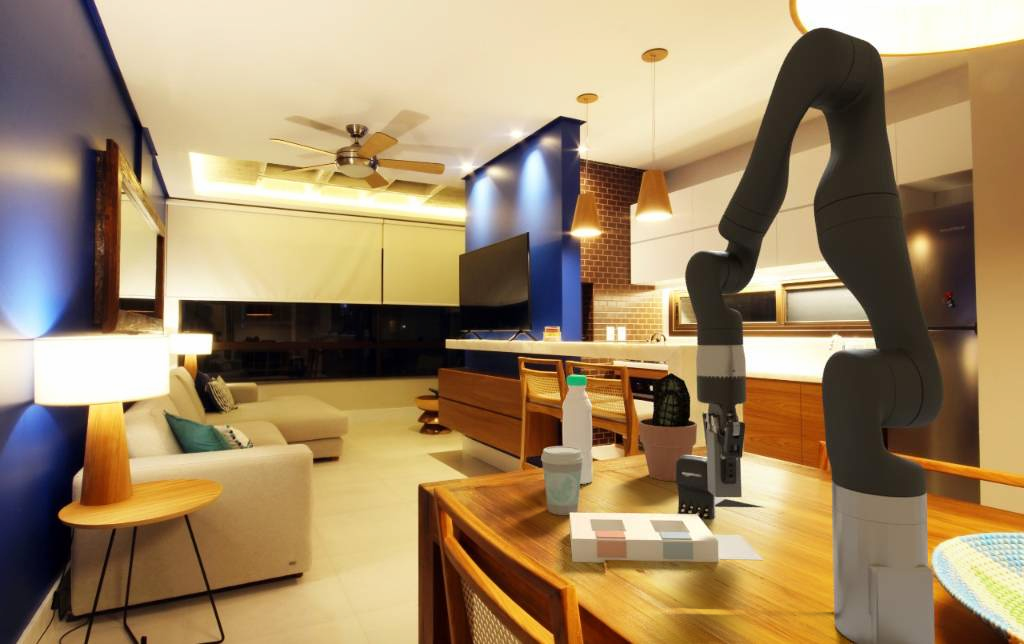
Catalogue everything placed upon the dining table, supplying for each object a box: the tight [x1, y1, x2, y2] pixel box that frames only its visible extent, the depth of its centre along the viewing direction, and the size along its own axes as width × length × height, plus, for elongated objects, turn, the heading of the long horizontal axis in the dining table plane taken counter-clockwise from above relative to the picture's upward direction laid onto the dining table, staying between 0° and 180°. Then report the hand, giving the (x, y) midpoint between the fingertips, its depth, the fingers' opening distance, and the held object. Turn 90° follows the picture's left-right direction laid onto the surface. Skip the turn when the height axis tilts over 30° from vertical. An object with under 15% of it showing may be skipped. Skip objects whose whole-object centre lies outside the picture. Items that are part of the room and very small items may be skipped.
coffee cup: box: [540, 445, 584, 516], centre depth 108 cm, size 9×8×12 cm
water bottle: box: [561, 374, 594, 485], centre depth 129 cm, size 7×7×25 cm
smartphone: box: [715, 497, 768, 509], centre depth 106 cm, size 7×15×1 cm, turn 46°
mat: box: [713, 534, 764, 561], centre depth 88 cm, size 10×8×1 cm
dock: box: [569, 512, 720, 564], centre depth 89 cm, size 12×22×4 cm, turn 86°
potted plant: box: [638, 372, 698, 482], centre depth 132 cm, size 14×14×25 cm
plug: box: [706, 427, 742, 498], centre depth 88 cm, size 4×4×11 cm
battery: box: [675, 454, 716, 520], centre depth 103 cm, size 7×4×11 cm, turn 54°
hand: (723, 479), depth 88 cm, fingers closed on plug, 4 cm apart
